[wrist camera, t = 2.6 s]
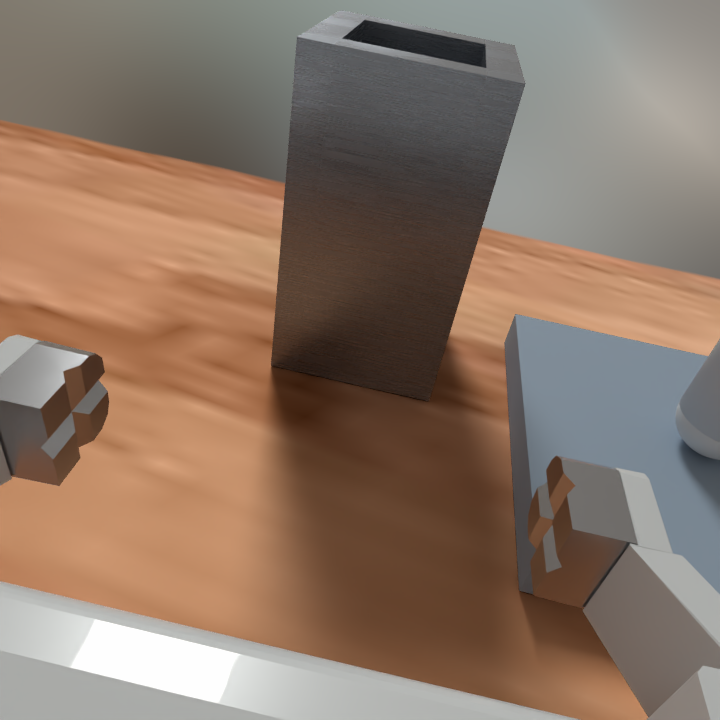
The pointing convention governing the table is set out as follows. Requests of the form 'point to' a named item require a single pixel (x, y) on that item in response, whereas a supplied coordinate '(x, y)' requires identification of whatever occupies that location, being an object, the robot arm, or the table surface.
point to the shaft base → (617, 426)
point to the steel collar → (386, 195)
